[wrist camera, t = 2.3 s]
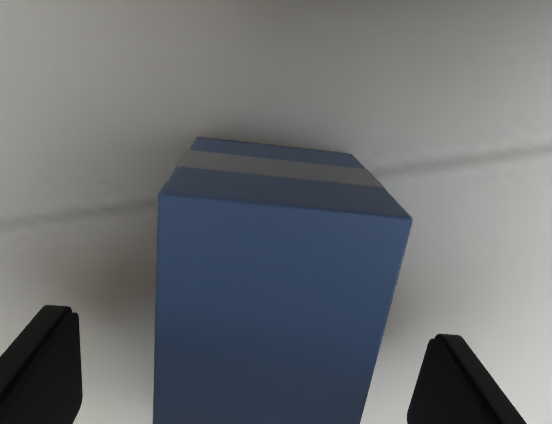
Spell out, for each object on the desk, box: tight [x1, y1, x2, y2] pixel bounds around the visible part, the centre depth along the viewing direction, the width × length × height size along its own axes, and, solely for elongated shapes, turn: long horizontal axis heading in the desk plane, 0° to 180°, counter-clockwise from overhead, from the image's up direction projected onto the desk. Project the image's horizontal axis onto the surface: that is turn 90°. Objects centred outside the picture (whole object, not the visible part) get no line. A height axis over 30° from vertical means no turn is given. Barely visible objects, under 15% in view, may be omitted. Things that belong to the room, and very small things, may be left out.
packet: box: [153, 137, 413, 424], centre depth 11 cm, size 10×4×5 cm, turn 173°
